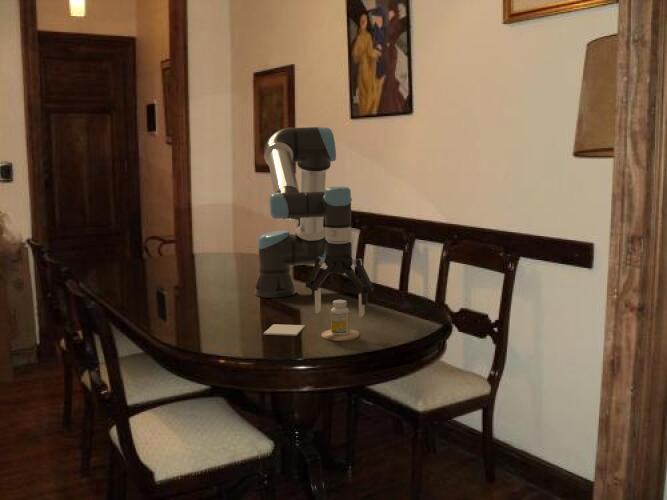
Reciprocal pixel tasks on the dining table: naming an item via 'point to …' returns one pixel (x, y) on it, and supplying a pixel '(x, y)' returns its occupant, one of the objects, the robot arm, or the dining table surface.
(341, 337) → the cork coaster
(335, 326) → the supplement bottle
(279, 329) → the felt mat
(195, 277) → the dining table surface
